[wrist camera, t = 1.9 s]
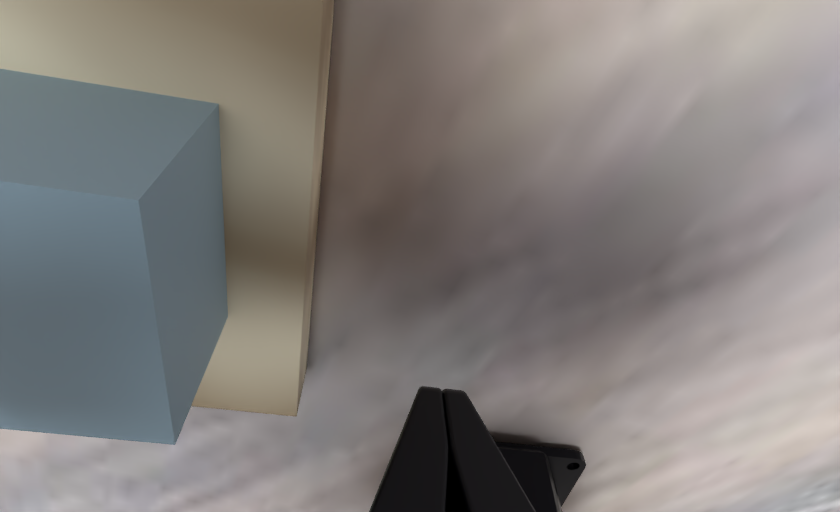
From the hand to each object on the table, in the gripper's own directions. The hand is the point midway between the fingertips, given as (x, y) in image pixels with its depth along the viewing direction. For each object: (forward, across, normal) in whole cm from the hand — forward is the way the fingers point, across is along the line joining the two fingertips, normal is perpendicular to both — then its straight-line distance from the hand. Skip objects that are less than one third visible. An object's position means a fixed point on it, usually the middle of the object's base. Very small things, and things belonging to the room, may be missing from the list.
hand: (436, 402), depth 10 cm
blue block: (+4, +8, 0) cm, 9 cm away
